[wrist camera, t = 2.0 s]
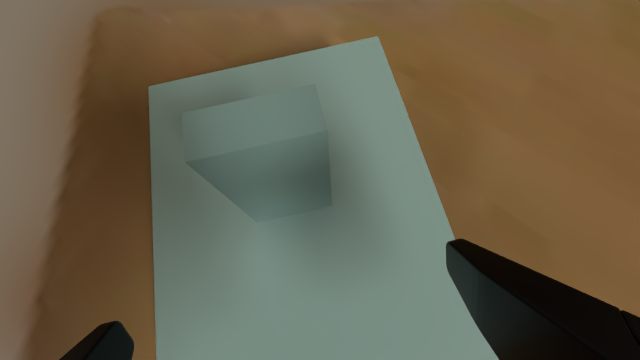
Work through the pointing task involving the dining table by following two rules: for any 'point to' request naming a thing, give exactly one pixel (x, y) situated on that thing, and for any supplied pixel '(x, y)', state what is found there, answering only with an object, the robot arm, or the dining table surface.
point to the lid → (299, 217)
